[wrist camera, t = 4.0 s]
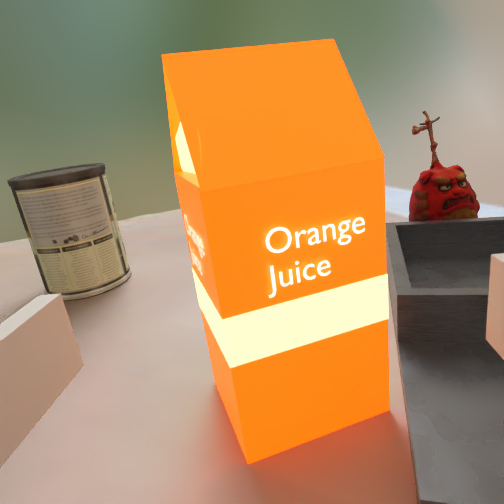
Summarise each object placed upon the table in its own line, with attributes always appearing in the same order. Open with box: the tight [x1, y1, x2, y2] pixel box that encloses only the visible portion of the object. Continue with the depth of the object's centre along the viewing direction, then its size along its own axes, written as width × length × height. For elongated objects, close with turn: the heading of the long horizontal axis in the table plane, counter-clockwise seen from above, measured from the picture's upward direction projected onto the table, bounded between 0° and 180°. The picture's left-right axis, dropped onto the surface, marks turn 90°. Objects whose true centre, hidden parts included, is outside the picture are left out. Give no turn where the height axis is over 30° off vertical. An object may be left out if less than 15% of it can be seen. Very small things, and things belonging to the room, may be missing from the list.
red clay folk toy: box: [409, 111, 480, 222], centre depth 44 cm, size 8×7×15 cm
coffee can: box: [8, 163, 131, 301], centre depth 47 cm, size 10×10×14 cm
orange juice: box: [162, 39, 390, 464], centre depth 22 cm, size 8×9×20 cm
